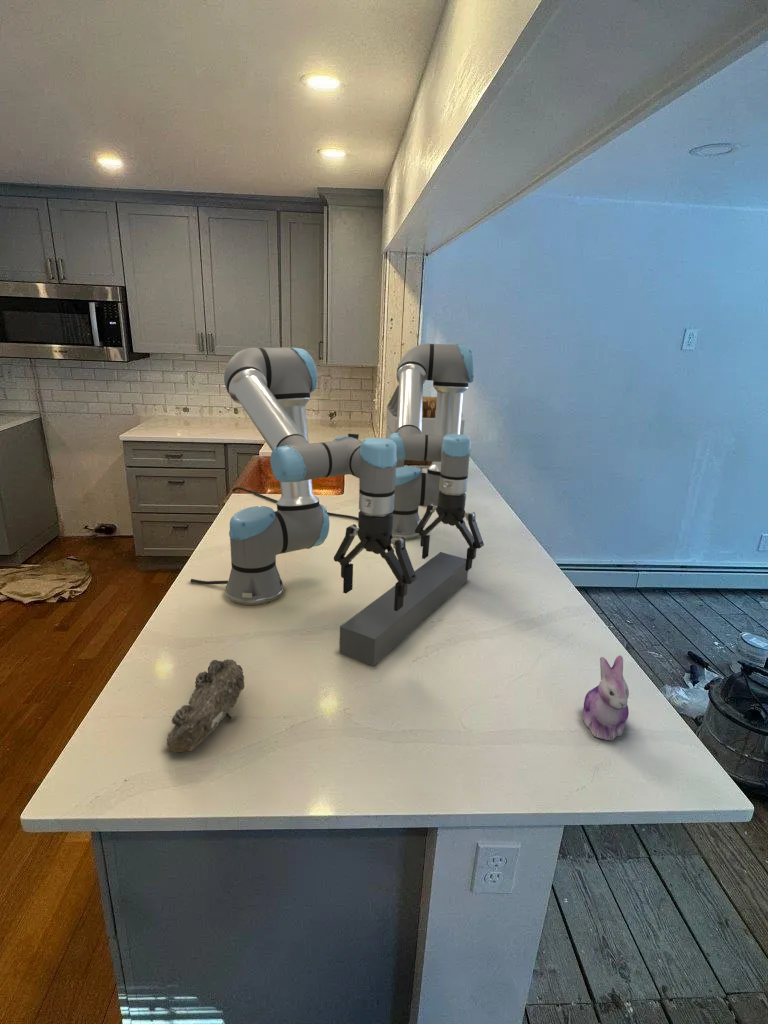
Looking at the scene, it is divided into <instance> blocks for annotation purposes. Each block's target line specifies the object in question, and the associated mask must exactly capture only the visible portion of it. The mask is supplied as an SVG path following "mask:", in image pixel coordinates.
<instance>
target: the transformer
mask: <svg viewBox="0 0 768 1024" xmlns="http://www.w3.org/2000/svg"><path fill="white" fill-rule="evenodd" d="M398 395H399V384H398V385H397V386H396V388H395V390H394V392H393V394H392V395H391V398H390V400H389V402H388V404H387V405H386V413H385V414H386V415H385V423H386V428H385V438H384V439H389V435H390V434H391V433H396V426H397V410H398ZM436 402H437V396H423V405H422V434H423V435H434V432H435V417H436ZM464 429H465V419H464V418H463V412H462V413H461V426H460V435H464V431H465V430H464ZM431 464H432V461H414V460H397V463H396V468H399V467H405V466H413V467H429V466H430V465H431Z"/></svg>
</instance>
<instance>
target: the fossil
mask: <svg viewBox="0 0 768 1024" xmlns="http://www.w3.org/2000/svg"><path fill="white" fill-rule="evenodd" d="M243 670H244V669H243V667H242V665H240V664H237V662H236V661H235V660H234V659H232V658H231V659H227V658H226V659H224V660H223V661H222V660H217V659H212V660H211V661H210V663H209V665H208V666H207V671H201V672H199V673H198V674H197V675H196V676H195V680H194V684H195V685H194V687H195V689H194V690H193V693H192V694H191V697H190V698H189V700H188V704H184V705H182V706H181V707H180V709H177V710H176V711H175V713H174V715H173V716H172V718H171V723H172V724H173V727H172V730H171V731H170V732H168V734H167V738H166V741H167V742H166V745H167V749H168V750H169V751H173V752H174V753H176V754H178V753H182V752H188V751H189V752H192V751H193V750H195V748H196V747H197V746H199V744H200V743H201V742H203V741H204V740H205V739H206V738H207V737H208V736H209V735H210V734H211V733H212V732H214V730H215V729H217V727H218V726H219V724H220V722H221V721H222V720H223V719H224V718H225V716H226V717H227V719H229V720H233V717H232V715H230V714H229V710H230V709H231V708H234V706H235V704H236V703H237V702H238V699H239V697H240V695H241V693H242V691H243V690H245V689H244V688H245V675H244V671H243Z"/></svg>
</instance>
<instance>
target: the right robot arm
mask: <svg viewBox="0 0 768 1024" xmlns="http://www.w3.org/2000/svg"><path fill="white" fill-rule="evenodd" d="M474 379H475V361H474V353H473V350H472V348H471V347H470V346H468V345H463V344H447V343H446V344H443V343H427V342H426V343H425V342H424V343H419V344H418V345H415V346H413V347H412V348H410V349H409V350H408V351H407V352H406V353H405V354H404V355H403V356H402V357H401V359H400V361H399V363H398V364H397V368H396V381H397V383H398V385H399V395H398V410H397V426H396V433H391V434H390V435H389V439H390V440H392V441H394V442H395V444H396V458H397V460H414V461H432V464H431V465H430V466H429V465H428V466H427V473H422V468H420V467H419V466H407V465H405V466H404V467H399V468H396V478H395V491H394V492H395V495H394V510H393V512H392V513H393V514H394V516H393V529H392V536H393V538H401V537H404V538H405V541H410V540H415V539H418V538H420V543H419V546H420V547H422V552H421V553H422V554H421V559H422V560H425V559H427V558H428V557H429V556H430V555H429V554H430V552H429V551H430V541H431V535H429V533H430V532H432V531H433V530H434V529H435V528H436V527H437V526H438V525H439V524H440V523H441V522H442V524H443V525H449V526H452V527H454V526H455V527H456V529H457V530H458V531H459V532H460V534H461V535H462V537H463V539H464V540H465V542H466V543H467V545H468V548H466V557H465V559H466V568H465V570H466V571H468V572H469V570H471V569H472V568H473V560H475V559H476V557H477V549H478V550H479V549H482V547H483V546H484V545H485V543H484V539H483V537H482V534H481V532H480V528H479V526H478V523H477V519H476V517H477V516H476V515H477V514H476V512H475V511H472V512H466V510H465V508H466V500H467V494H466V493H467V490H468V479H469V478H468V476H469V466H470V457H471V452H472V447H471V445H472V442H471V441H472V440H471V438H470V436H468V435H464V434H463V435H460V426H461V418H462V417H461V413H462V414H463V400H464V393H465V392H466V391H467V390H468V389H469V384H472V383H473V382H474ZM426 381H430V382H431V381H432V388H434V390H435V391H436V397H437V402H436V417H435V432H434V435H423V434H422V405H423V397H424V384H425V383H426ZM237 490H239V491H244V492H246V493H250V494H254V495H255V496H258V497H260V498H263V499H266V500H268V501H270V502H274V503H276V504H277V502H278V501H279V500H277V499H274V498H272V497H269V496H266V495H263V494H262V493H259V492H256V491H253V490H251V489H247V488H244V487H242V486H241V487H240V486H237V487H236V486H235V487H234V488H233V489H232V490H231V491H232V492H235V491H237ZM419 507H426V510H425V513H424V514H423V516H422V518H420V515H419ZM435 512H436V514H437V517H436V518H435V519H434V520H433V521H432V522H431V523H430V524H429V525H428V526H427V527H425V526H426V525H427V523H428V521H429V520H430V518H431V517H432V515H433V514H434V513H435ZM327 514H328V516H332V517H339V518H346V519H352V520H356V521H358V517H357V516H354V515H348V514H340V513H334V512H328V511H327ZM464 518H465V520H464ZM465 521H467V524H468V526H467V524H466V522H465ZM468 527H469V528H468ZM424 528H425V529H424Z"/></svg>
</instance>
